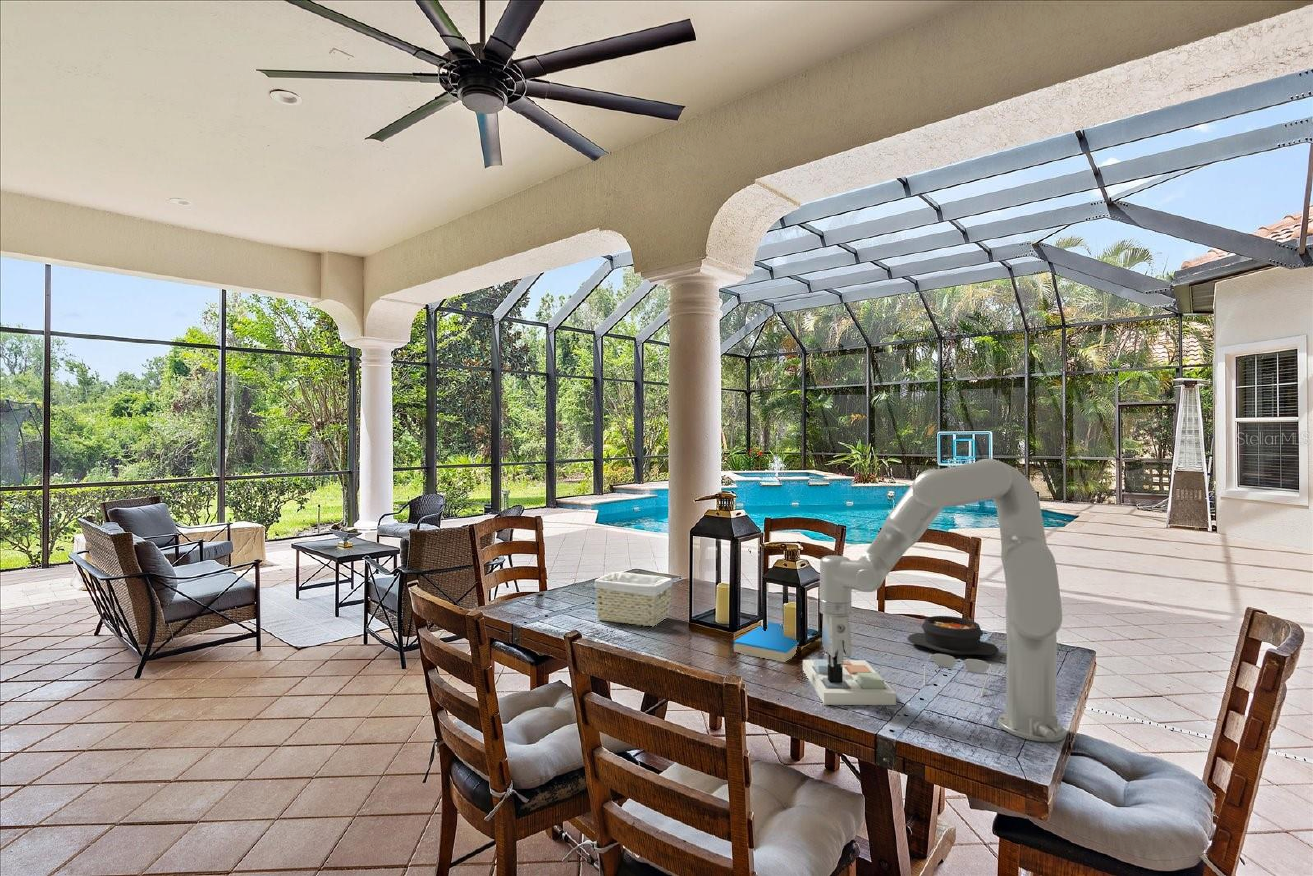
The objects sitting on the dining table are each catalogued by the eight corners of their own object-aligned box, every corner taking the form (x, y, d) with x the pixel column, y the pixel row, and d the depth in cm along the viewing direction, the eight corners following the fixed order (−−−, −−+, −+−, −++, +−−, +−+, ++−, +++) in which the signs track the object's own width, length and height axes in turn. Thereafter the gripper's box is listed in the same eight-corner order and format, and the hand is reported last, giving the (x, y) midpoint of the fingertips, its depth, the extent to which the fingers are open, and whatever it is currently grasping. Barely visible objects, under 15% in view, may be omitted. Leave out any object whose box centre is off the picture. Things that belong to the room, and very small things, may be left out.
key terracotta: (871, 681, 165) (871, 671, 165) (851, 681, 165) (851, 671, 165) (865, 674, 170) (865, 665, 170) (846, 674, 170) (846, 665, 170)
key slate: (848, 696, 155) (848, 685, 155) (828, 695, 155) (828, 685, 155) (843, 688, 160) (843, 678, 160) (822, 687, 160) (822, 677, 160)
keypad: (895, 706, 152) (895, 692, 152) (823, 705, 152) (823, 691, 152) (865, 671, 175) (865, 659, 175) (802, 670, 175) (802, 658, 175)
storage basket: (674, 618, 228) (674, 576, 228) (655, 630, 213) (655, 585, 213) (614, 610, 237) (614, 570, 238) (592, 621, 223) (592, 579, 223)
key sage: (884, 690, 155) (884, 680, 155) (863, 690, 155) (863, 680, 155) (877, 682, 160) (877, 672, 160) (857, 682, 160) (857, 672, 160)
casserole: (1000, 648, 195) (1000, 621, 195) (996, 666, 179) (996, 636, 179) (913, 635, 208) (913, 609, 208) (902, 651, 192) (902, 623, 192)
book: (816, 629, 202) (787, 650, 181) (815, 643, 202) (787, 665, 181) (765, 621, 211) (732, 639, 190) (765, 634, 211) (731, 654, 190)
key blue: (838, 675, 165) (838, 666, 165) (818, 675, 165) (818, 666, 165) (832, 669, 170) (832, 659, 170) (813, 668, 170) (814, 659, 170)
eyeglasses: (991, 676, 173) (991, 661, 173) (986, 700, 157) (987, 683, 157) (929, 666, 181) (929, 652, 181) (919, 687, 165) (919, 672, 165)
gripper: (860, 615, 150) (859, 693, 150) (842, 599, 165) (841, 671, 165) (828, 615, 150) (827, 693, 150) (813, 599, 165) (812, 670, 165)
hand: (835, 681), depth 158 cm, fingers closed
